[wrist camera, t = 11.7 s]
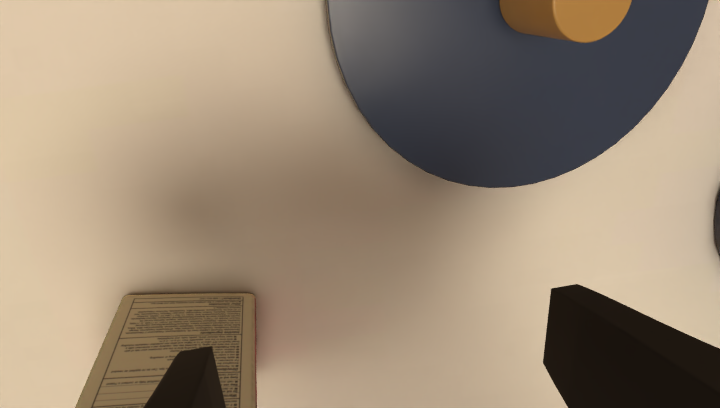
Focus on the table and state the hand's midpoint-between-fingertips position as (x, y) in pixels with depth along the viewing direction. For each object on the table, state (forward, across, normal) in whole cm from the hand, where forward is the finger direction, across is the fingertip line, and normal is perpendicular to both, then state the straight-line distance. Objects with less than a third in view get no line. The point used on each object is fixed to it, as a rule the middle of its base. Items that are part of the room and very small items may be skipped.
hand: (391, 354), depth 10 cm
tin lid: (+9, -7, -6) cm, 13 cm away
